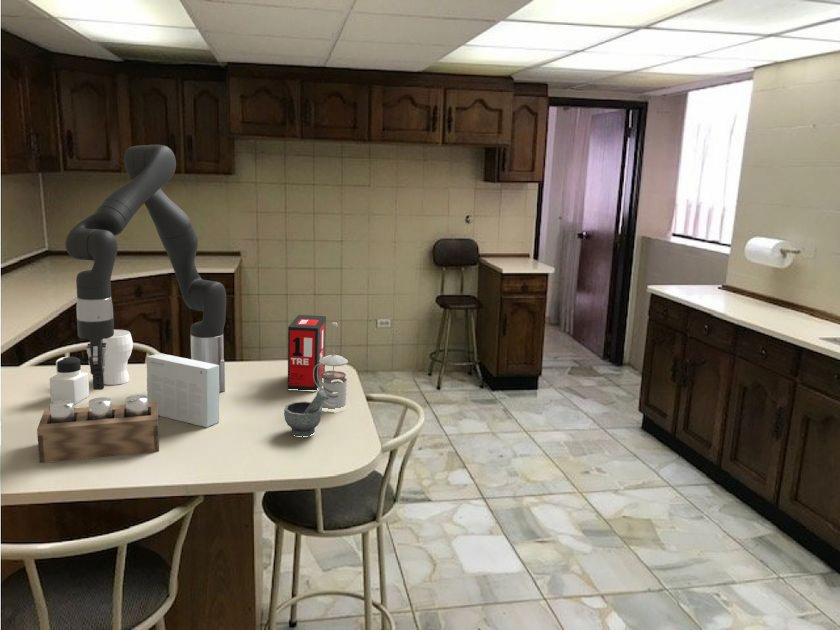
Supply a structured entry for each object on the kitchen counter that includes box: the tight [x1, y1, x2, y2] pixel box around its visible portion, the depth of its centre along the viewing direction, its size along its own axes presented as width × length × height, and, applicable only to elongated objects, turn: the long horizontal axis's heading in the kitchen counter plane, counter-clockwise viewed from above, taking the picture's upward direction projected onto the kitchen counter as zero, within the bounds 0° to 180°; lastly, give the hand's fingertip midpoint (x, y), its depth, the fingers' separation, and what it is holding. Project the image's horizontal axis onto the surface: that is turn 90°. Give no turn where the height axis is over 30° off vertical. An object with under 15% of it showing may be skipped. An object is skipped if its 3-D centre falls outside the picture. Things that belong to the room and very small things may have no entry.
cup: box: [103, 329, 134, 386], centre depth 206 cm, size 11×11×15 cm
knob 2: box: [125, 394, 148, 417], centre depth 163 cm, size 5×5×5 cm
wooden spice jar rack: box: [36, 402, 160, 464], centre depth 162 cm, size 25×12×8 cm, turn 111°
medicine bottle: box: [49, 356, 90, 405], centre depth 190 cm, size 7×7×12 cm
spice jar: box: [88, 396, 112, 420], centre depth 161 cm, size 5×5×5 cm
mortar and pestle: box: [283, 390, 327, 437], centre depth 175 cm, size 11×9×12 cm
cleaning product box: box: [287, 314, 327, 391], centre depth 214 cm, size 16×9×20 cm, turn 179°
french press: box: [313, 322, 349, 409], centre depth 194 cm, size 10×12×25 cm
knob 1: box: [49, 400, 75, 423], centre depth 158 cm, size 5×5×5 cm
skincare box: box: [146, 352, 220, 428], centre depth 181 cm, size 21×5×16 cm, turn 65°
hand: (98, 388), depth 159 cm, fingers closed
